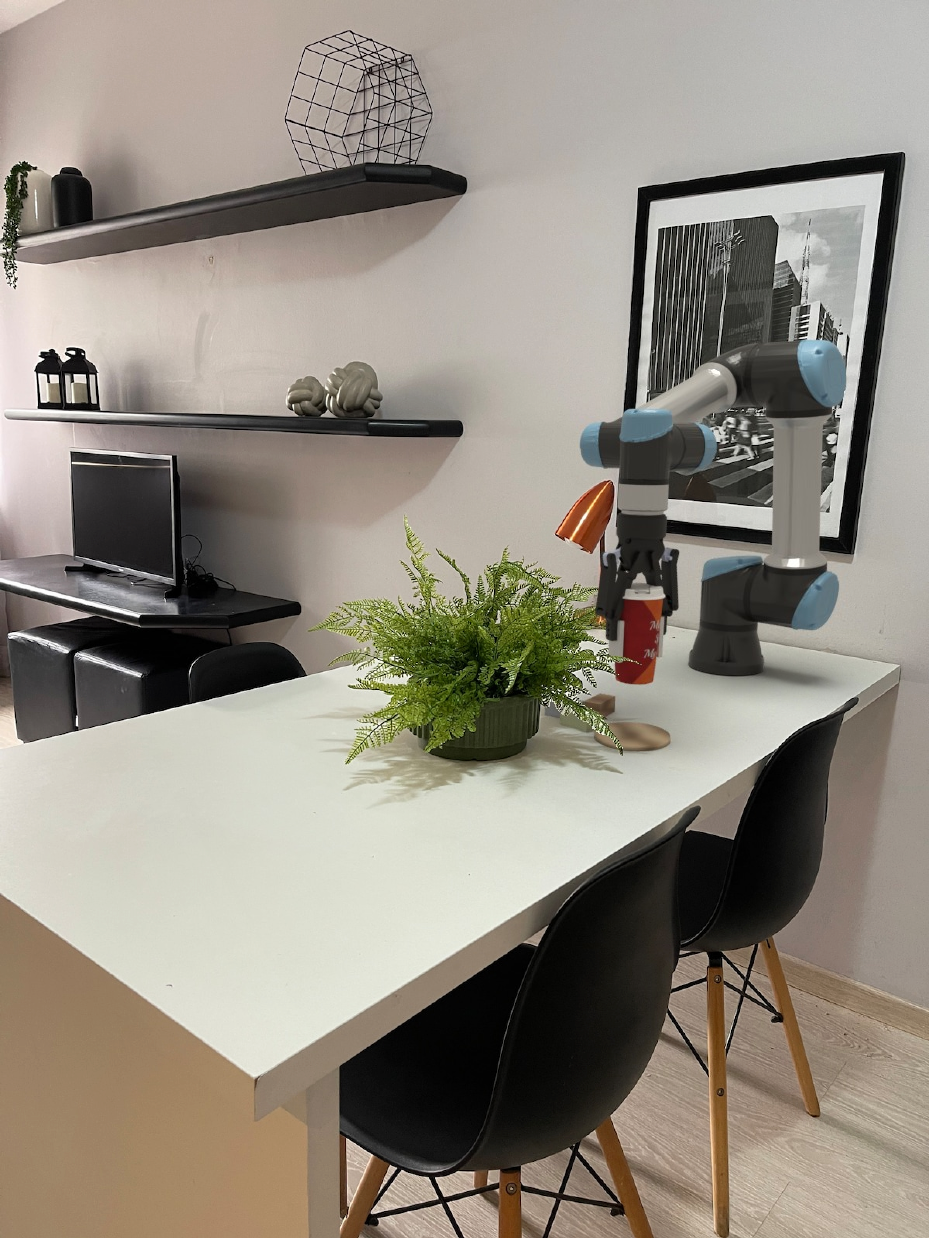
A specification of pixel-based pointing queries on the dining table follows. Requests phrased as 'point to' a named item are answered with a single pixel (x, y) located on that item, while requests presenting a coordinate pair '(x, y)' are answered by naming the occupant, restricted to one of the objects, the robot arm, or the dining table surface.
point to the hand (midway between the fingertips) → (635, 657)
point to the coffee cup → (640, 633)
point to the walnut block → (601, 704)
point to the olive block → (575, 722)
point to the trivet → (635, 736)
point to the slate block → (555, 710)
